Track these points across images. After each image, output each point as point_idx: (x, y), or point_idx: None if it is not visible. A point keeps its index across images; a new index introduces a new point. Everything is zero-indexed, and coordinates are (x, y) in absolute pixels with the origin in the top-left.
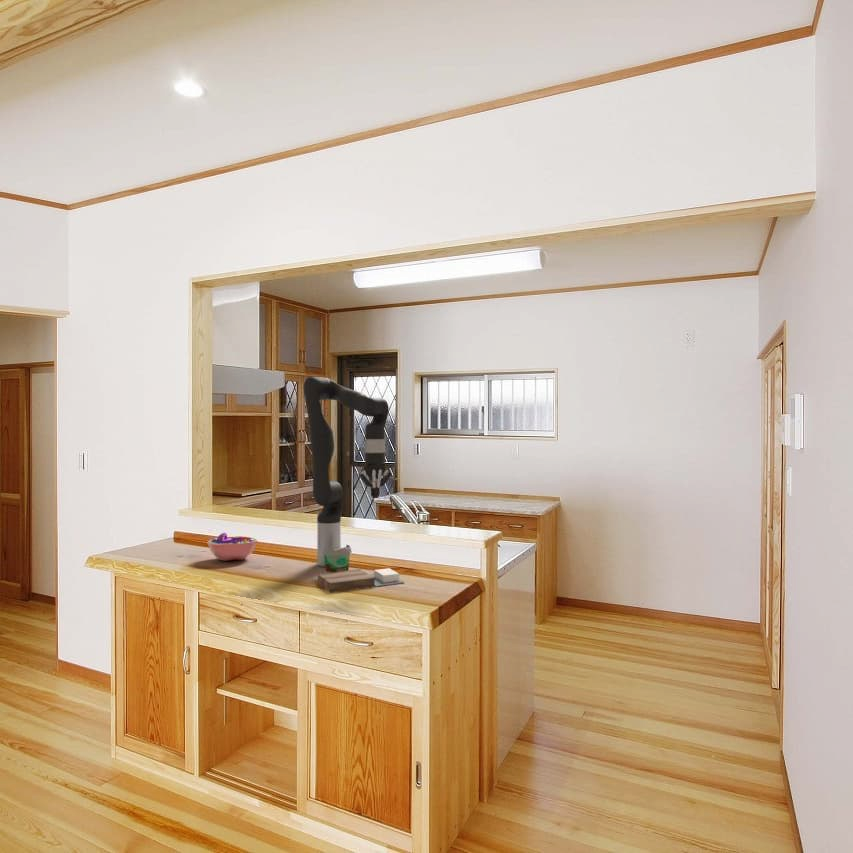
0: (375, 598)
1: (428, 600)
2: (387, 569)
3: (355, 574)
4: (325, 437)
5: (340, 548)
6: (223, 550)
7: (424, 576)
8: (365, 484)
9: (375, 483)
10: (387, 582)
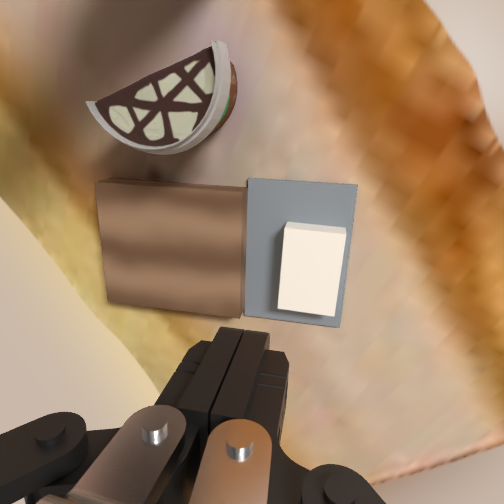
0: None
1: None
2: (330, 246)
3: (201, 252)
4: None
5: (172, 77)
6: None
7: (450, 294)
8: (15, 432)
9: (206, 501)
10: None
